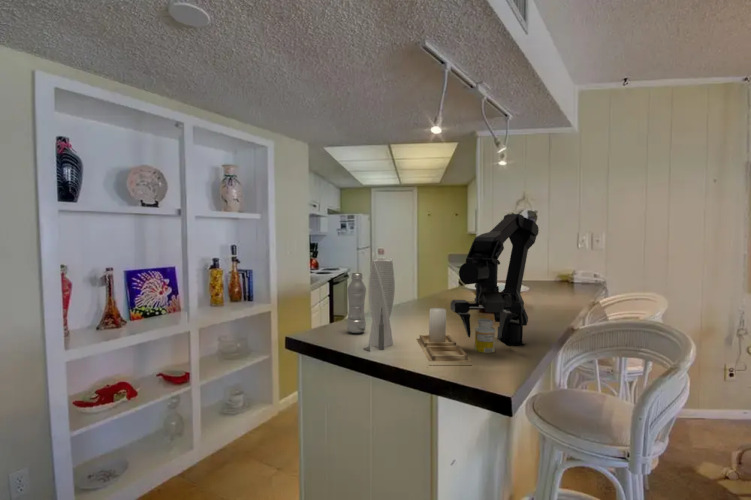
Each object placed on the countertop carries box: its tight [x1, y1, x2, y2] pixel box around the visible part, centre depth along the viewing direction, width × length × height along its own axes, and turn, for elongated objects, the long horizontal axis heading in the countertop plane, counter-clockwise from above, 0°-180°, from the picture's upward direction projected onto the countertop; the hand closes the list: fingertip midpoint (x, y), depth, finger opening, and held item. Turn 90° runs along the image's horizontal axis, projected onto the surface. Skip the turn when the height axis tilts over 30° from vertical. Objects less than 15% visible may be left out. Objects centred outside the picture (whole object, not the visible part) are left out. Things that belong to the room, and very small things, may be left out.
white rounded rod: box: [428, 307, 447, 342], centre depth 117 cm, size 5×5×10 cm
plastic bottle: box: [346, 272, 367, 334], centre depth 133 cm, size 6×7×20 cm
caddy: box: [416, 334, 473, 367], centre depth 111 cm, size 11×22×2 cm, turn 3°
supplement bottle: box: [474, 318, 496, 354], centre depth 110 cm, size 5×5×10 cm
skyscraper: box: [362, 251, 396, 352], centre depth 114 cm, size 8×8×28 cm
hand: (485, 337), depth 111 cm, fingers open, 9 cm apart
